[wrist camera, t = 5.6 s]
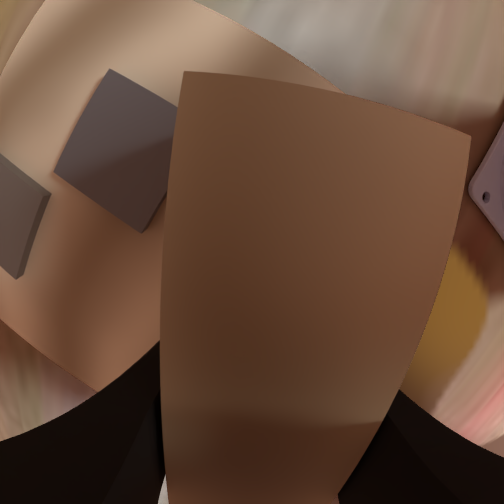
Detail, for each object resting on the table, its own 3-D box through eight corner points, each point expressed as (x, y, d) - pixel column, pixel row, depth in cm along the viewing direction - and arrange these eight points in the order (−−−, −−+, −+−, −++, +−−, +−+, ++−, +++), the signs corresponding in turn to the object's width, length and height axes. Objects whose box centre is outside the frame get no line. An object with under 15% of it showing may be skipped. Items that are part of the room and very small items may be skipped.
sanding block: (351, 142, 9) (471, 136, 4) (283, 430, 13) (296, 546, 7) (222, 120, 9) (184, 71, 3) (193, 422, 13) (173, 539, 7)
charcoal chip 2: (211, 128, 10) (208, 126, 9) (146, 229, 11) (140, 233, 10) (116, 71, 9) (109, 68, 8) (61, 170, 10) (53, 171, 9)
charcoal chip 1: (51, 193, 10) (43, 196, 10) (23, 274, 11) (15, 279, 11) (-8, 147, 9) (-17, 148, 9) (-30, 225, 10) (-38, 229, 10)
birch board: (436, 192, 12) (456, 198, 10) (225, 434, 16) (223, 455, 14) (90, -27, 8) (77, -40, 7) (-37, 256, 12) (-53, 265, 11)
